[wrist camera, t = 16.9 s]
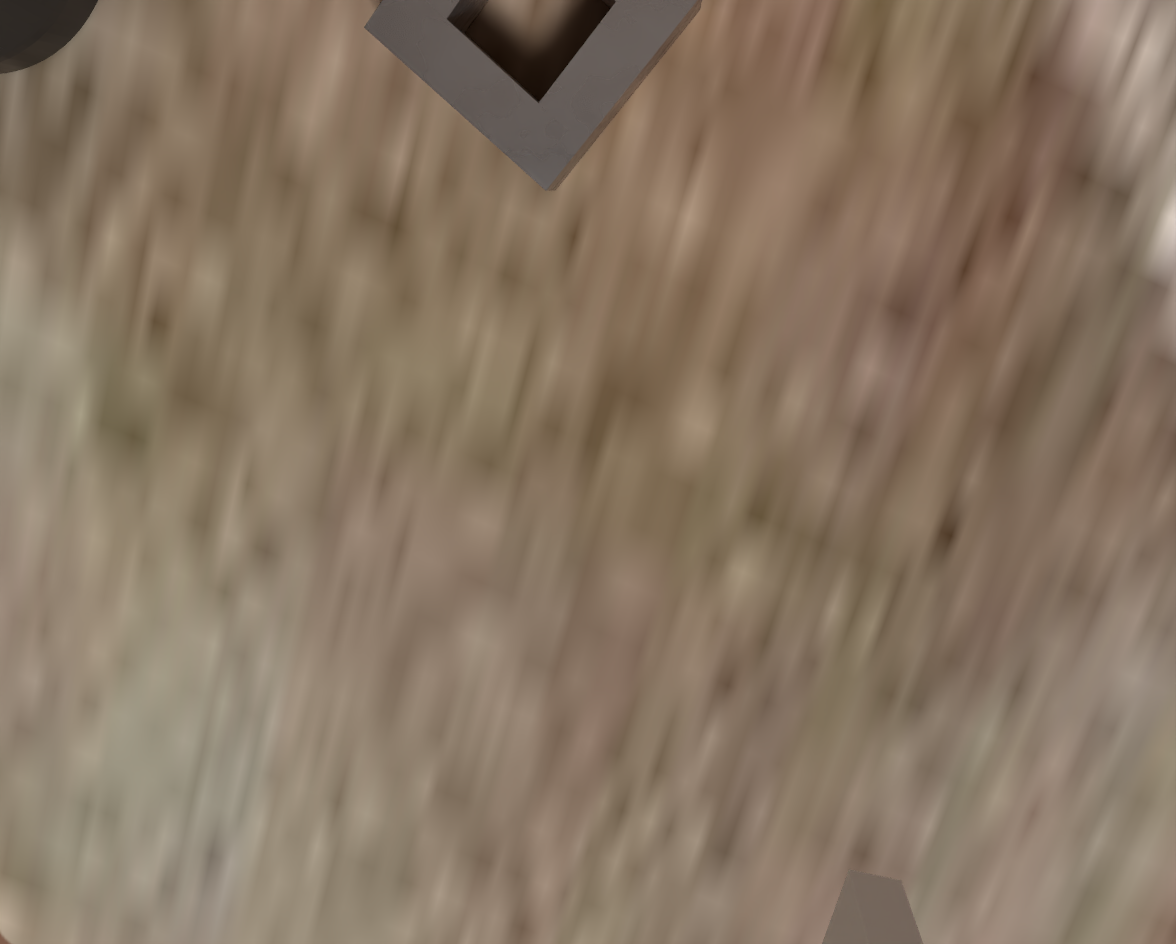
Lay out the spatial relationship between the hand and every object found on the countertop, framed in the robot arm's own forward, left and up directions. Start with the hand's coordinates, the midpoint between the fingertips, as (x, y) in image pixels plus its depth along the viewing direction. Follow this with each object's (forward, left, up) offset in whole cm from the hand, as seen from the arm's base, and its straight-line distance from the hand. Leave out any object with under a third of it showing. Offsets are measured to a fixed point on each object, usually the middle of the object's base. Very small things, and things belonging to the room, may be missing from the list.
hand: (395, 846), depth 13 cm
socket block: (-12, +11, -33) cm, 37 cm away
